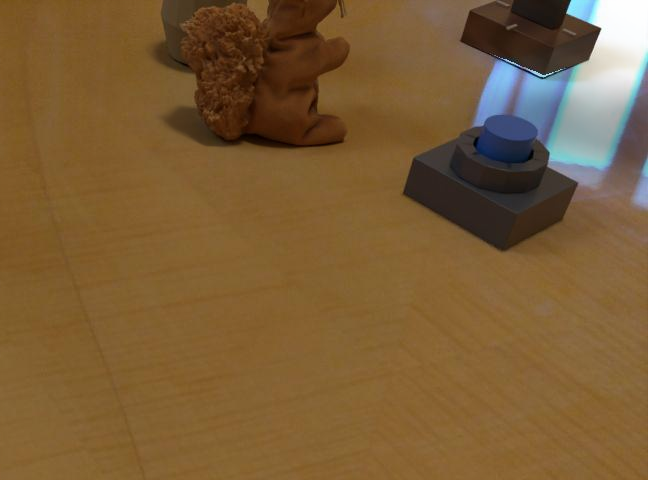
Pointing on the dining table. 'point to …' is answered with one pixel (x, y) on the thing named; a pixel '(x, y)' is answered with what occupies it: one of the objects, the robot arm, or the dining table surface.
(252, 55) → the stuffed squirrel
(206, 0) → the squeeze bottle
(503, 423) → the dining table surface
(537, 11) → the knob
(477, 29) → the panel
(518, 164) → the push button base
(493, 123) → the blue push button
